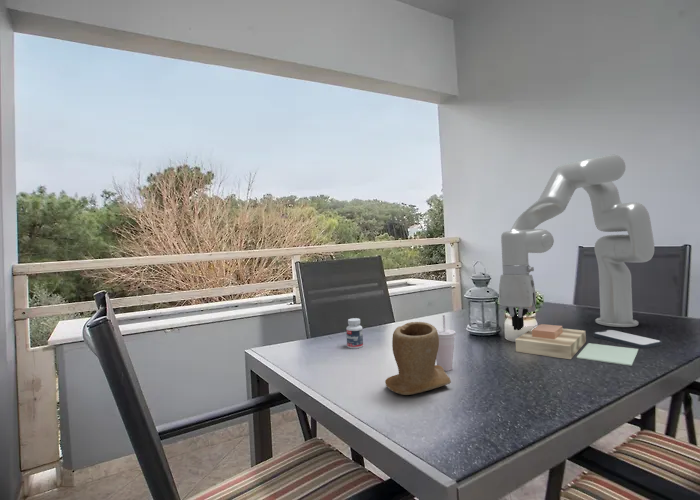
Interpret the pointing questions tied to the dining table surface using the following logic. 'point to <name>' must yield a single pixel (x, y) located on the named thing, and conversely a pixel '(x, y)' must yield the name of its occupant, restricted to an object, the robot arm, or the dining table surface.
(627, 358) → the mat
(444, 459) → the dining table surface
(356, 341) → the pill bottle
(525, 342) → the block
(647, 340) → the phone case
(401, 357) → the stone cup
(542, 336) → the tile
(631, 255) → the robot arm
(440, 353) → the smoothie
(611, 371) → the dining table surface
